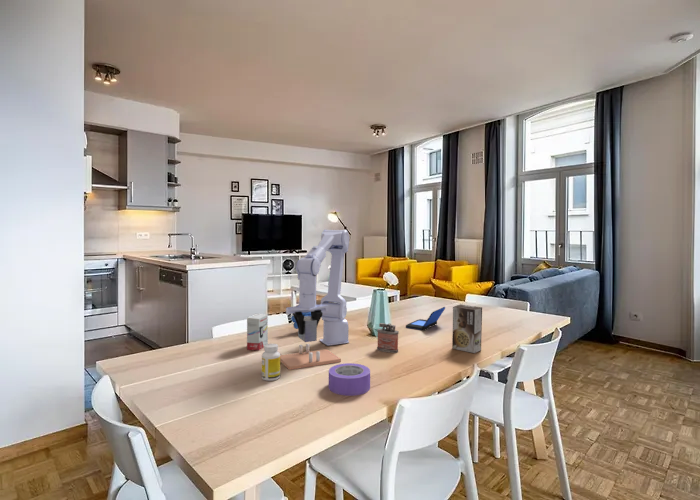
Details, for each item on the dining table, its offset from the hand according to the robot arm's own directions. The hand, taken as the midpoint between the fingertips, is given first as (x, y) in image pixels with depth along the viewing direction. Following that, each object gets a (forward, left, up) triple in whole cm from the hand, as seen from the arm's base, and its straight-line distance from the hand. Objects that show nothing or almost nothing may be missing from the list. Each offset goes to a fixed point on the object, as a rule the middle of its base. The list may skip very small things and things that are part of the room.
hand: (307, 333), depth 135 cm
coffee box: (-58, +14, -9) cm, 61 cm away
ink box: (+12, -21, -9) cm, 26 cm away
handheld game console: (-66, -20, -10) cm, 70 cm away
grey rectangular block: (0, 0, -2) cm, 2 cm away
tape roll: (-2, +27, -9) cm, 29 cm away
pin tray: (0, +1, -9) cm, 9 cm away
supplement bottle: (+16, +11, -9) cm, 21 cm away
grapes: (-11, -34, -9) cm, 37 cm away
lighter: (-30, +3, -9) cm, 32 cm away
